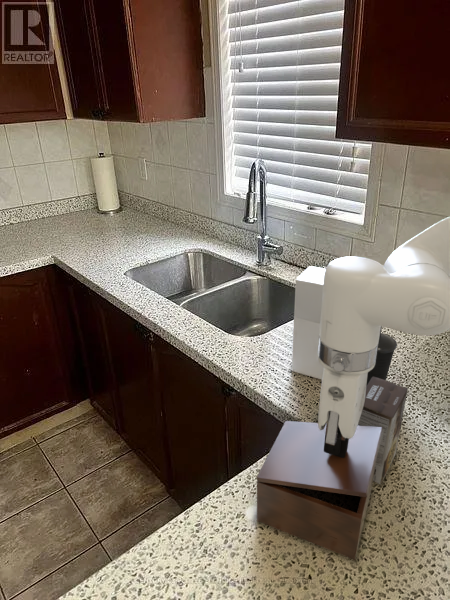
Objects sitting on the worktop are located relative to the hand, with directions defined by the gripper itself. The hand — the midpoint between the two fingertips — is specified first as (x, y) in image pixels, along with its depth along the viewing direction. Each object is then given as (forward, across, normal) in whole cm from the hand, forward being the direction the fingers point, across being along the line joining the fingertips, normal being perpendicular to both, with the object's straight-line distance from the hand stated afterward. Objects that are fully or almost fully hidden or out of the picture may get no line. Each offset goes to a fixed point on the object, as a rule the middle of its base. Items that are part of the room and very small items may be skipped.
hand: (335, 451), depth 67 cm
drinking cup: (+14, +35, -1) cm, 37 cm away
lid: (+2, 0, +2) cm, 3 cm away
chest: (+14, 0, +2) cm, 14 cm away
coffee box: (+14, +14, -5) cm, 20 cm away
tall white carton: (+14, +39, +13) cm, 43 cm away
